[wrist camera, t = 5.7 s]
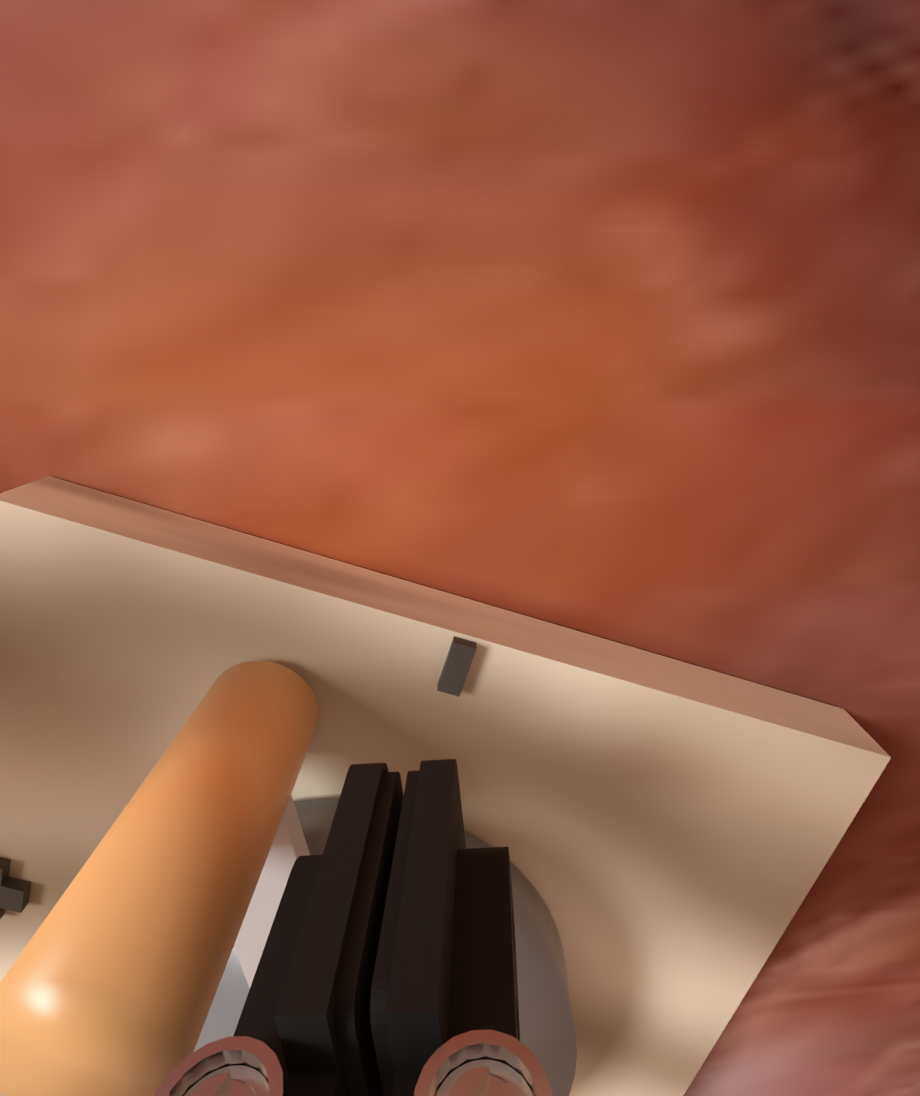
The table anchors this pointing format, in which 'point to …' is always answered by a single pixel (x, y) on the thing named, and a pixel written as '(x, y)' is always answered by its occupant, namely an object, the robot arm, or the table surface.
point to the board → (429, 751)
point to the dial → (208, 910)
